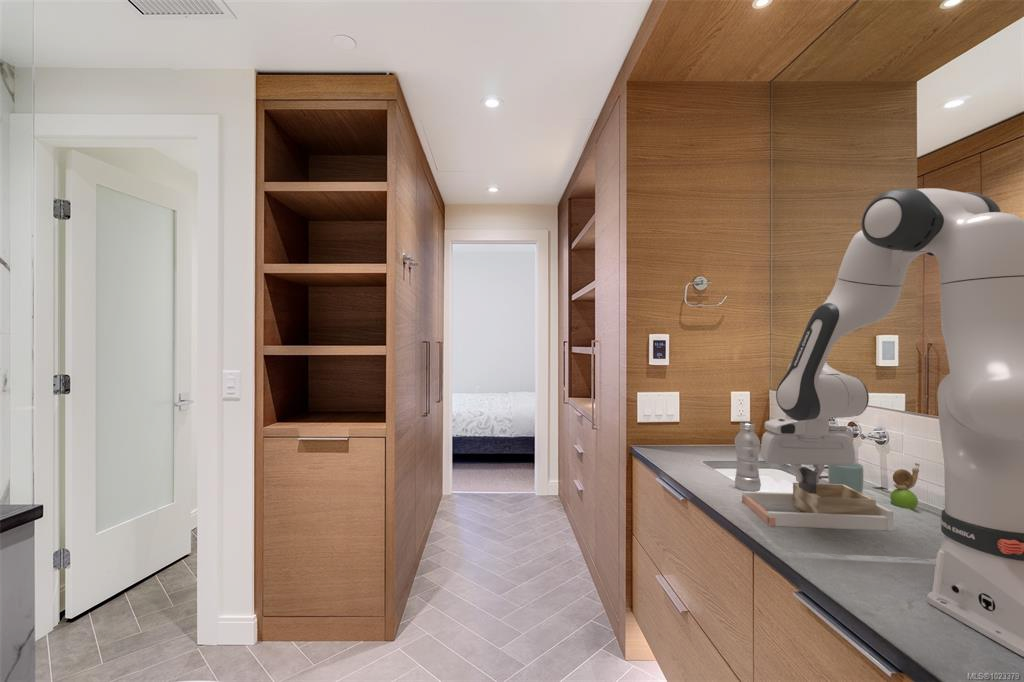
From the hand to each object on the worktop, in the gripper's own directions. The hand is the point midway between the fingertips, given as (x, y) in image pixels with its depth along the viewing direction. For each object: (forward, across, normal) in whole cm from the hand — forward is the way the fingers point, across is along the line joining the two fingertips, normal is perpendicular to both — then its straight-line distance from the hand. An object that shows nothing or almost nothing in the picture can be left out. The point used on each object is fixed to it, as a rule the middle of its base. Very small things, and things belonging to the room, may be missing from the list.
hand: (807, 482), depth 110 cm
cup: (+9, -18, -16) cm, 26 cm away
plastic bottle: (+9, +6, -20) cm, 23 cm away
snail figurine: (+9, -29, -10) cm, 32 cm away
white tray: (+9, -1, 0) cm, 9 cm away
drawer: (+8, -6, 0) cm, 10 cm away
